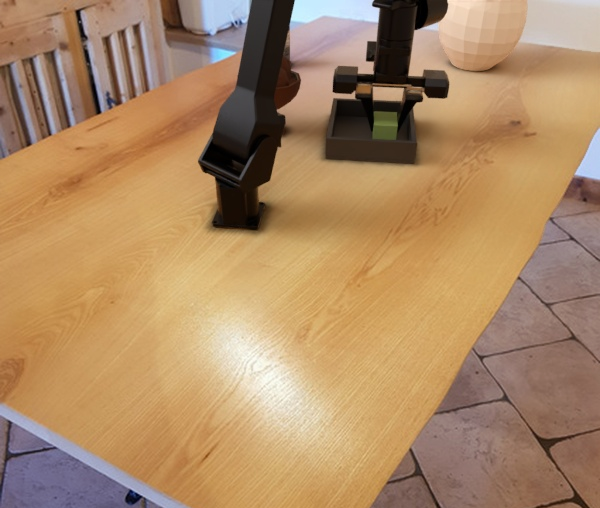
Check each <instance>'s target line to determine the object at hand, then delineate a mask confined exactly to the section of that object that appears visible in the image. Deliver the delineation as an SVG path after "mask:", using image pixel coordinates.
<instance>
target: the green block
mask: <svg viewBox="0 0 600 508" xmlns="http://www.w3.org/2000/svg"><path fill="white" fill-rule="evenodd" d="M397 128H398V122H397V112H379V111H374V127H373V138H372V139H387V140H396V136H397Z"/></svg>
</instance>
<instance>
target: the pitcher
mask: <svg viewBox="0 0 600 508" xmlns="http://www.w3.org/2000/svg"><path fill="white" fill-rule="evenodd" d="M447 2H448V10H447V13H446V15H445V17H444V18H443V19H442V20H441V21H439V22H438V23H437V29H438V36H439V37H438V38H439V42H440V45H441V46H442V50H443V51H444V53H445V55H446V57H447V59H448V60H449V62H450V63H451V65H452V66H454V67H455V68H457V69H459V70H463V71H471V72H480V71H482V72H483V71H488V70H490V69H491V68H493V67H495V66H496V65H498V64H499V63H500V62H502V61H504V60H505V59H506V58H507V57H508V56H509V55H510V54H511V53H512V52H513V51H514V50H515V49H516V47H517V45H518V43H519V42H520V40H521V38H522V36H523V32H524V29H525V26H526V22H527V14H528V0H447Z"/></svg>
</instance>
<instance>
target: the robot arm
mask: <svg viewBox="0 0 600 508" xmlns="http://www.w3.org/2000/svg"><path fill="white" fill-rule="evenodd" d="M295 1H296V0H251V3H250V6H249V7H250V8H249V12H248V18H247V23H246V24H247V25H246V29H245V34H244V40H243V46H242V51H241V56H240V62H239V68H238V72H237V75H238V76H237V78H236V83H235V87H234V89H233V91H232V92H231V93H230V94H229V96H228V97H227V98H226V99H225V100H224V102H223V103H222V105H221V106H220V108H219V109H218V114H217V117H216V120H215V123H214V127H213V130H212V132H211V135H210V137H209V139H208V141H207V143H206V144H205V146H204V148H203V150H202V152H201V154H200V156H199V157H198V159H197V163H198V166H199V167H200V169H201V172H202V173H204V174H208V175H210V176H212V177H213V178H214V182H215V183H214V184H215V192H216V200H217V209H216V211H215V213H214V216H213V218H212V220H211V226H212V227H214V228H232V229H243V230H244V229H245V230H258V229H259V228H260V225H261V221H262V219H263V215H264V211H265V209H266V203H265V202H263V201H260V198H259V194H260V193H259V187H261V186H263V185H265V184H267V183H269V182H271V179H272V174H273V170H274V164H275V160H276V157H277V153H278V148H282V136H283V135H282V133H283V129H284V127H285V126H286V122H287V121H286V115H285V114H282V113H280V112H278V109H276V105H275V101H274V96H275V91H276V86H277V81H278V77H279V72H280V67H281V63H282V58H283V53H284V49H285V44H286V40H287V35H288V30H289V26H290V25H291V21H292V15H293V11H294V8H295V7H294V6H295ZM371 6H372V7H373V8H377V9H378V21H377V32H376V40H367V41H366V53H365V62H366V63H367V62H368V63H373V68H372V71H373V73H359V66H357V65H355V66H354V65H353V66H351V65H337V67H335V68H334V72H333V76H332V93H333V94H340V95H341V94H343V95H352V94H353V93H354V99H360V100H361V102H362V104H363V106H364V109H365V111H366V114H367V118H368V122H369V125H370V129H371V132H373V127H374V103H373V100H374V88H392V89H393V88H395V89H403V92H402V97H401V100H400V101H401V105H400V109H399V113H398V117H397V122H398V128H397V133H398V132H399V130H400V128H401V126H402V124H403V122H404V121H405V119H406V117H407V115H408V114H409V112H410V111H411V110H412V108H413V109H414V107H415V106H416V105H417V103H422V102H424V96H423V94H424V95H425V96H426V97H427V98H428V99H441V100H442V99H443V100H445V99H448V96H449V92H450V91H449V90H450V79H449V76H448V73H447V72H446V71H445V70H441V69H440V70H439V69H423V72H422V75H421V76H419V75H409V74H410V68H411V67H410V66H411V60H412V51H413V44H414V37H415V31H417V30H421V29H423V28H427V27H429V26H432V25H434V24H438V22H439V21H441V20H442V19H443V18H444V17H445V15H446V13H447V10H448V2H447V0H373V1H372V2H371ZM290 27H291V26H290Z"/></svg>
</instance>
